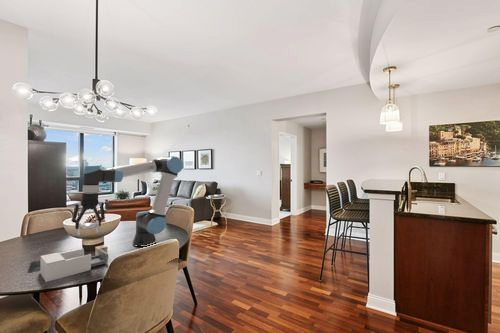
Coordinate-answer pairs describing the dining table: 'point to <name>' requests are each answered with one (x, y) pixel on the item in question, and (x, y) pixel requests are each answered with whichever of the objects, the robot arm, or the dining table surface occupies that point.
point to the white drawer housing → (64, 264)
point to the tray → (99, 258)
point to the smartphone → (34, 266)
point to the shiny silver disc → (88, 225)
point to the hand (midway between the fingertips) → (87, 233)
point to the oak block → (100, 248)
